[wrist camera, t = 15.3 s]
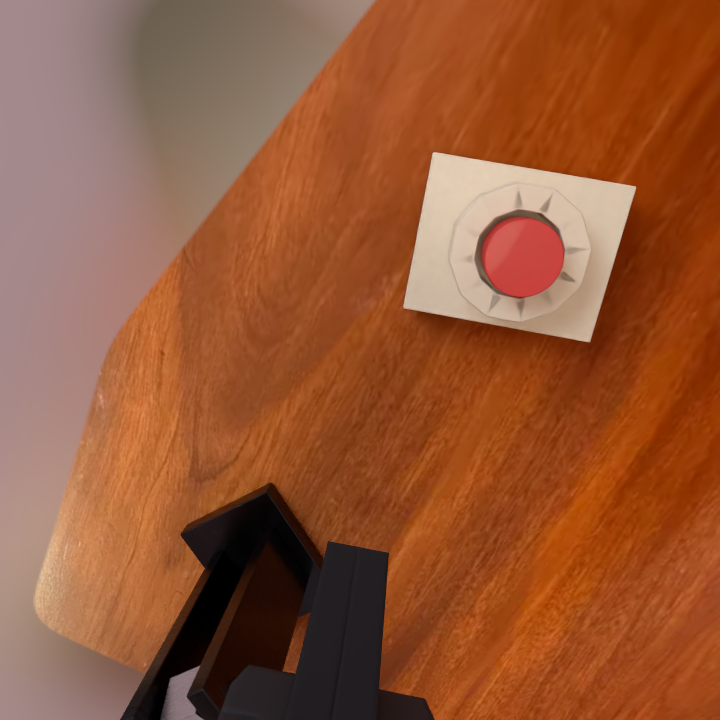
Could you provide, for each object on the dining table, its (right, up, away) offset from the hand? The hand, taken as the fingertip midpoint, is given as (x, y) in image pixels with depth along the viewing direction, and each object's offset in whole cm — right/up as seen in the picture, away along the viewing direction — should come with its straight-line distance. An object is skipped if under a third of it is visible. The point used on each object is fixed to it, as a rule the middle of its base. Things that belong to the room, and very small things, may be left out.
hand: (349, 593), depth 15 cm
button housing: (+8, +12, +18) cm, 23 cm away
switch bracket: (-6, -7, +25) cm, 27 cm away
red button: (+8, +11, +14) cm, 20 cm away
